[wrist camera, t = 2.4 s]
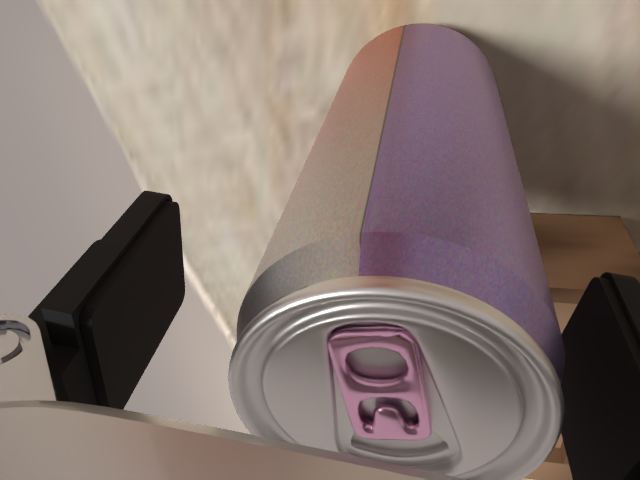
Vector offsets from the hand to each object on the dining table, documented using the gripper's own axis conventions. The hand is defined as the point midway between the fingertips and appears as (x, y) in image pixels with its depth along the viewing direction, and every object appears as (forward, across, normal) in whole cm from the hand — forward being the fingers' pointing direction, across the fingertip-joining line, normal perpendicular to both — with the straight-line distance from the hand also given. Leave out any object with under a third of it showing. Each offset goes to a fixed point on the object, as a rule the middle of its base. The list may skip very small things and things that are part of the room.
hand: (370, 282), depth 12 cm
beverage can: (+12, -1, 0) cm, 12 cm away
